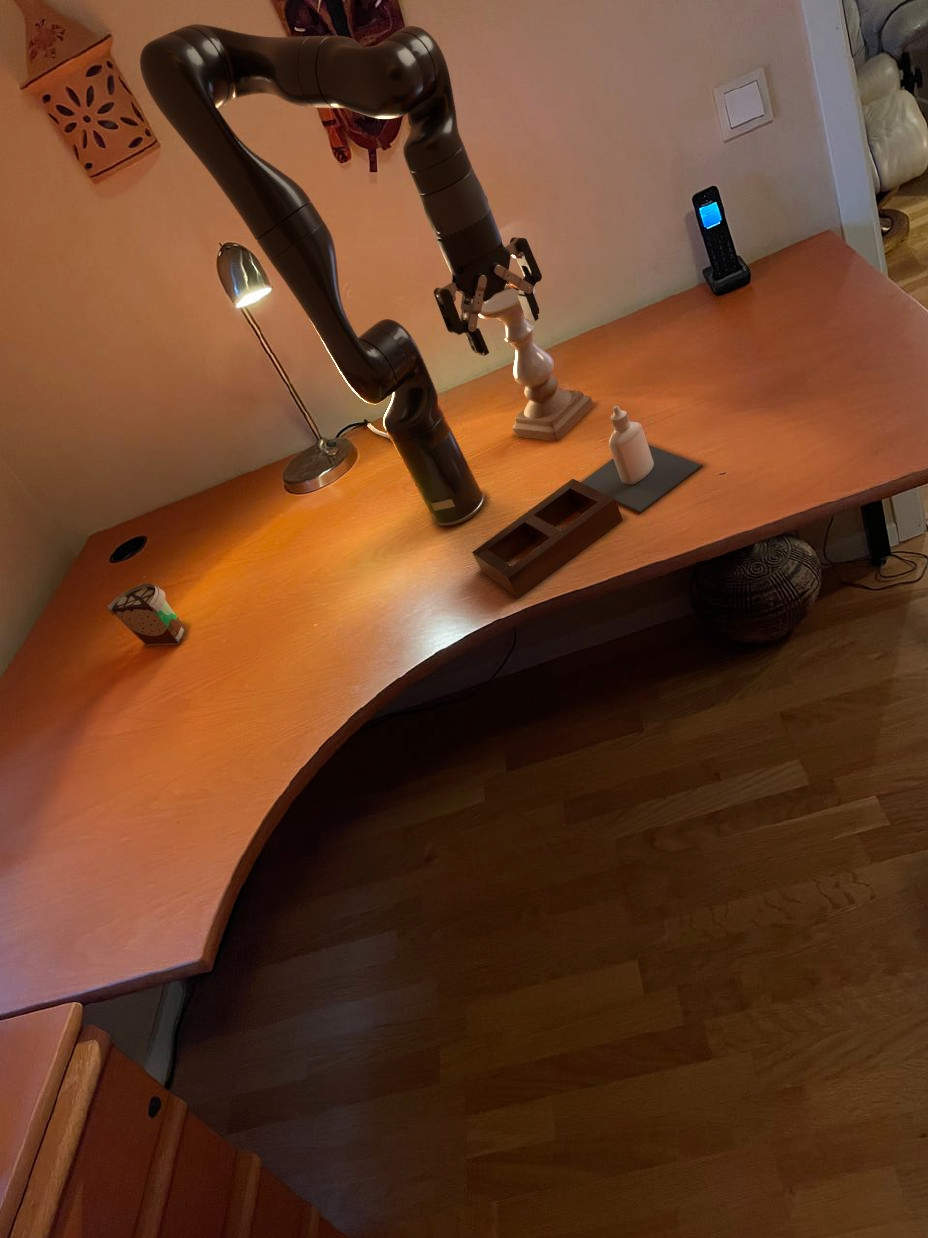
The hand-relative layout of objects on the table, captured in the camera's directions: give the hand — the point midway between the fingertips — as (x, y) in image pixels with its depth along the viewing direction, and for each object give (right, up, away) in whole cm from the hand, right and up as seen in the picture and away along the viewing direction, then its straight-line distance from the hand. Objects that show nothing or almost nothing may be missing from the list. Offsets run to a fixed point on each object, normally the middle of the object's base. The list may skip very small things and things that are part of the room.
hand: (508, 336), depth 112 cm
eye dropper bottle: (+20, -16, +14) cm, 30 cm away
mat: (+21, -16, +14) cm, 30 cm away
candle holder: (+10, -2, +38) cm, 39 cm away
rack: (+7, -27, +10) cm, 30 cm away
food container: (-59, -41, +39) cm, 82 cm away
